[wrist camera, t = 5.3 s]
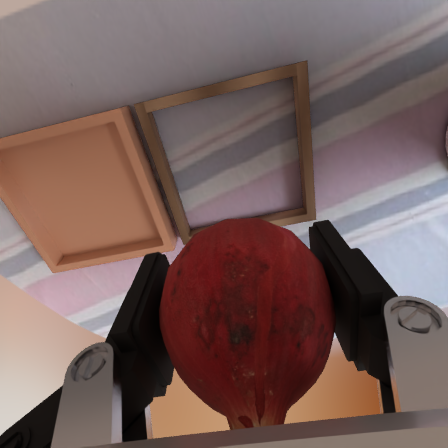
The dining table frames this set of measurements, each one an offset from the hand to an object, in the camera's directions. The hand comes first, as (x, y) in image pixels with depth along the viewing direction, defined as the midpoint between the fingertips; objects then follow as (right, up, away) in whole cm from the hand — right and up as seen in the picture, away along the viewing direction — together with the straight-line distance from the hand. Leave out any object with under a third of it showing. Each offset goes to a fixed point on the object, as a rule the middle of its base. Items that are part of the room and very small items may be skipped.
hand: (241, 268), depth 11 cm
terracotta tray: (-14, +5, +15) cm, 21 cm away
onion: (0, +1, +2) cm, 2 cm away
